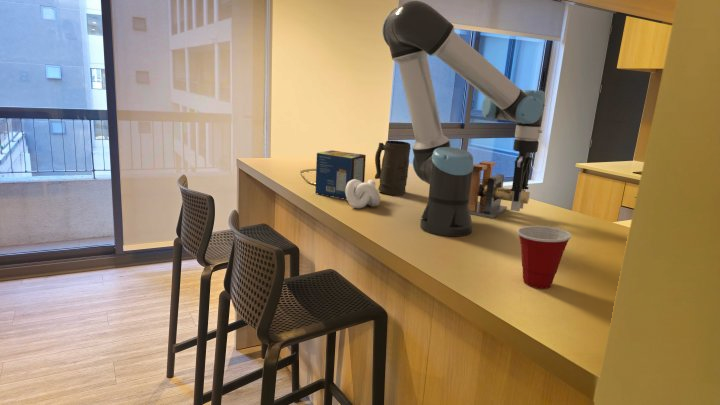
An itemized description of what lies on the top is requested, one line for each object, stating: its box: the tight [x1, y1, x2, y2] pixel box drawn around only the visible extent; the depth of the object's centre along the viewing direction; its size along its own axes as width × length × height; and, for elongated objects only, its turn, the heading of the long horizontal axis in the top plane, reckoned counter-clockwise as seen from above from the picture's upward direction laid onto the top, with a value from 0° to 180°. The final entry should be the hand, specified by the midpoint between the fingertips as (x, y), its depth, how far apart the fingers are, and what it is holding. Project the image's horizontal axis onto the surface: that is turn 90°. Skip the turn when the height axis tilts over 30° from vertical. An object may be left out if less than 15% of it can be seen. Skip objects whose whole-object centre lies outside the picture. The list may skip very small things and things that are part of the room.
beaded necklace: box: [299, 168, 316, 186], centre depth 201 cm, size 19×35×2 cm, turn 16°
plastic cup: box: [516, 225, 572, 290], centre depth 99 cm, size 11×11×12 cm
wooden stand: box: [469, 160, 508, 219], centre depth 160 cm, size 16×18×16 cm
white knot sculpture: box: [345, 178, 381, 209], centre depth 157 cm, size 11×12×9 cm
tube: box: [478, 183, 531, 205], centre depth 158 cm, size 4×24×4 cm, turn 58°
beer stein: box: [374, 140, 412, 196], centre depth 180 cm, size 15×11×20 cm
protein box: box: [315, 150, 367, 200], centre depth 171 cm, size 10×15×16 cm
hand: (516, 209), depth 154 cm, fingers closed on tube, 4 cm apart
